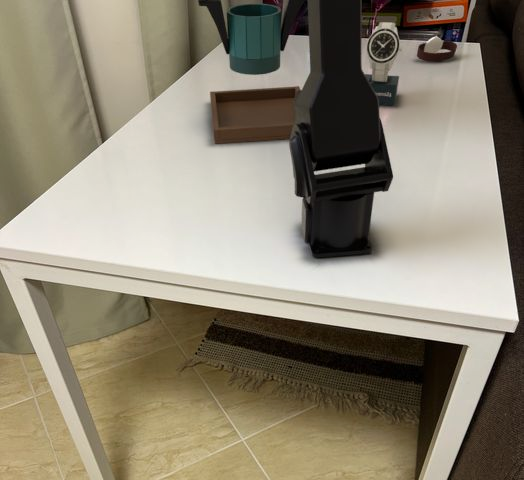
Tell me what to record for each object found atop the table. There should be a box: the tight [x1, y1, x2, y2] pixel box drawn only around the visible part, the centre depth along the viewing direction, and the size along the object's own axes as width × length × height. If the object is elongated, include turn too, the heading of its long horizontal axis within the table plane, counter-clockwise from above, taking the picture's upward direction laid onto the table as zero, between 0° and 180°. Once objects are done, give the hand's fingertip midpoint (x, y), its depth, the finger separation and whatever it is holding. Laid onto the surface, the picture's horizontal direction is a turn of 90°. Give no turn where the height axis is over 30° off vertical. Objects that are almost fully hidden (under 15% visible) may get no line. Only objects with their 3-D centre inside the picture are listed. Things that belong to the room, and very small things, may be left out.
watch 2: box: [416, 35, 458, 63], centre depth 103 cm, size 8×5×4 cm, turn 105°
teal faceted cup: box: [226, 3, 282, 76], centre depth 76 cm, size 7×7×7 cm
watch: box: [364, 21, 404, 107], centre depth 86 cm, size 6×8×11 cm
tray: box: [209, 85, 302, 145], centre depth 84 cm, size 15×16×2 cm
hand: (255, 51), depth 77 cm, fingers closed on teal faceted cup, 7 cm apart
